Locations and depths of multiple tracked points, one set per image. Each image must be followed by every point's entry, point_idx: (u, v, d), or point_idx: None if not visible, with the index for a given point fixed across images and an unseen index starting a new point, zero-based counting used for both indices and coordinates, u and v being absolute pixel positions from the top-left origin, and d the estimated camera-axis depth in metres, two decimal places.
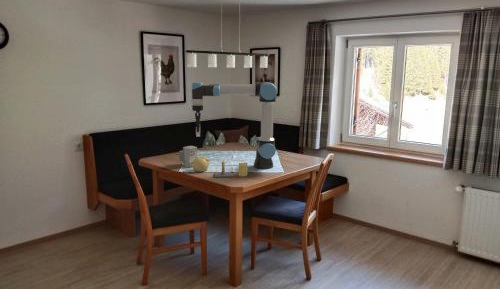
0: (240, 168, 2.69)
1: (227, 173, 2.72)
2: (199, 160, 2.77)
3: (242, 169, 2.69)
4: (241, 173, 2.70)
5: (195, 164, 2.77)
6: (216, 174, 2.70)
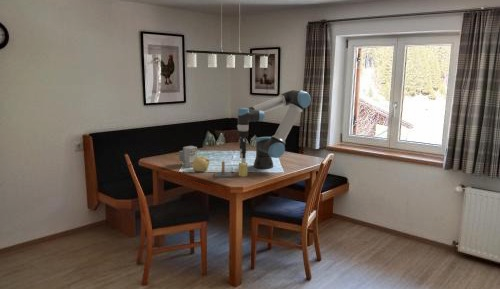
0: (240, 168, 2.69)
1: (227, 173, 2.72)
2: (199, 160, 2.77)
3: (242, 169, 2.69)
4: (241, 173, 2.70)
5: (195, 164, 2.77)
6: (216, 174, 2.70)
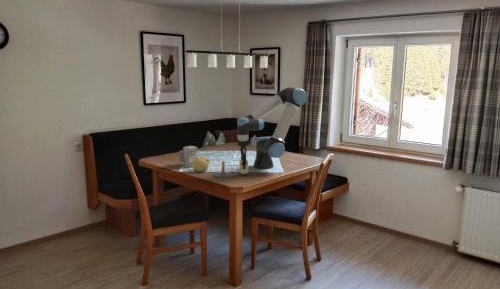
0: (241, 165, 2.69)
1: (227, 173, 2.72)
2: (199, 160, 2.77)
3: None
4: None
5: (195, 164, 2.77)
6: (216, 174, 2.70)
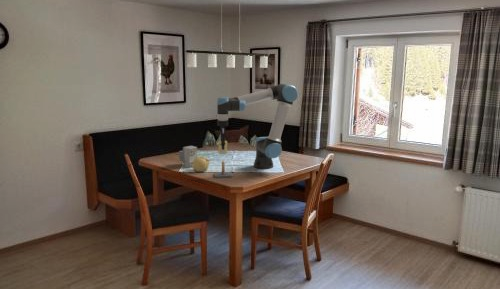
0: (220, 146, 2.64)
1: (227, 173, 2.72)
2: (199, 160, 2.77)
3: None
4: None
5: (195, 164, 2.77)
6: (216, 174, 2.70)
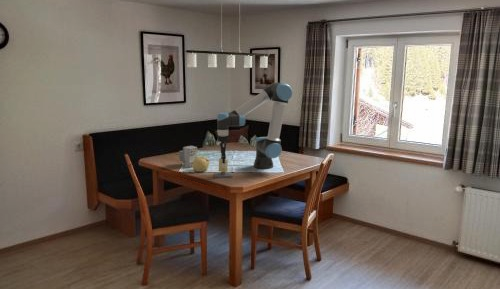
0: (220, 163, 2.67)
1: (227, 173, 2.72)
2: (199, 160, 2.77)
3: None
4: (221, 168, 2.67)
5: (195, 164, 2.77)
6: (216, 174, 2.70)
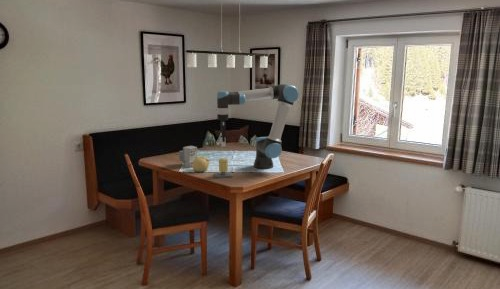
0: (220, 164, 2.67)
1: (227, 173, 2.72)
2: (199, 160, 2.77)
3: (222, 165, 2.67)
4: (221, 169, 2.68)
5: (195, 164, 2.77)
6: (216, 174, 2.70)
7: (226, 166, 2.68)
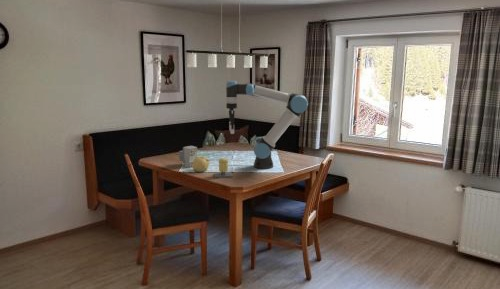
0: (220, 164, 2.67)
1: (227, 173, 2.72)
2: (199, 160, 2.77)
3: (222, 165, 2.67)
4: (221, 169, 2.67)
5: (195, 164, 2.77)
6: (216, 174, 2.70)
7: (226, 166, 2.68)
